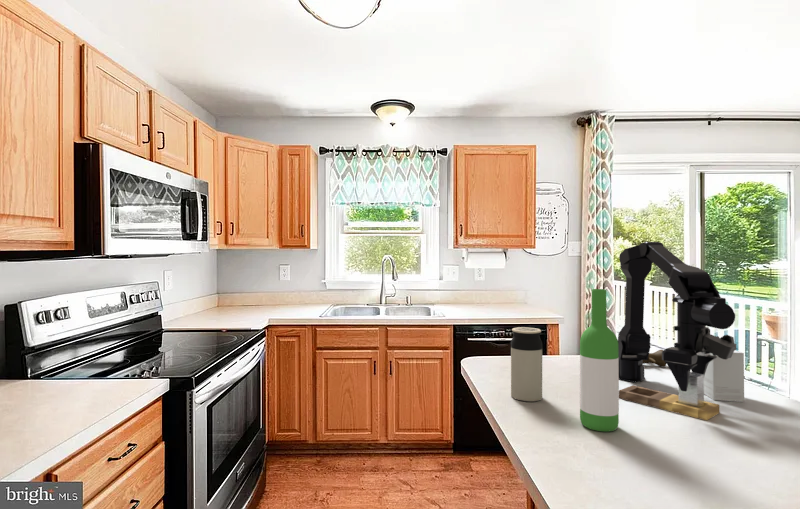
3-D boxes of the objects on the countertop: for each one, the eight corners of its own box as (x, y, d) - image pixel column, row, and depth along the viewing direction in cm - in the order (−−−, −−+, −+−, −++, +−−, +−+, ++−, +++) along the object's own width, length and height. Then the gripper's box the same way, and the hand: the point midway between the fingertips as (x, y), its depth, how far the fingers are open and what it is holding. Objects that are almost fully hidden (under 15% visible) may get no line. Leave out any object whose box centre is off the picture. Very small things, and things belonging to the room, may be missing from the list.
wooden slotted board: (618, 398, 116) (618, 390, 116) (633, 392, 121) (633, 385, 121) (706, 420, 100) (706, 411, 100) (719, 412, 105) (719, 404, 105)
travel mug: (546, 402, 112) (546, 331, 112) (515, 402, 112) (515, 331, 113) (537, 392, 120) (537, 327, 120) (507, 392, 120) (507, 326, 120)
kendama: (650, 359, 163) (672, 371, 144) (622, 358, 165) (639, 370, 146) (650, 343, 163) (671, 353, 144) (622, 342, 166) (639, 352, 146)
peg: (678, 410, 106) (678, 373, 106) (685, 407, 109) (685, 370, 109) (697, 415, 103) (697, 377, 103) (703, 411, 106) (703, 374, 106)
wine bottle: (572, 425, 97) (572, 289, 97) (591, 417, 102) (591, 287, 102) (607, 436, 91) (607, 291, 91) (625, 427, 96) (625, 289, 96)
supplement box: (745, 402, 113) (745, 353, 113) (712, 400, 114) (712, 351, 114) (729, 393, 120) (729, 347, 120) (699, 391, 121) (699, 346, 122)
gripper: (716, 330, 94) (717, 404, 94) (744, 323, 105) (745, 388, 105) (660, 324, 103) (660, 391, 103) (691, 318, 114) (692, 378, 114)
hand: (691, 387), depth 106 cm, fingers open, 9 cm apart
